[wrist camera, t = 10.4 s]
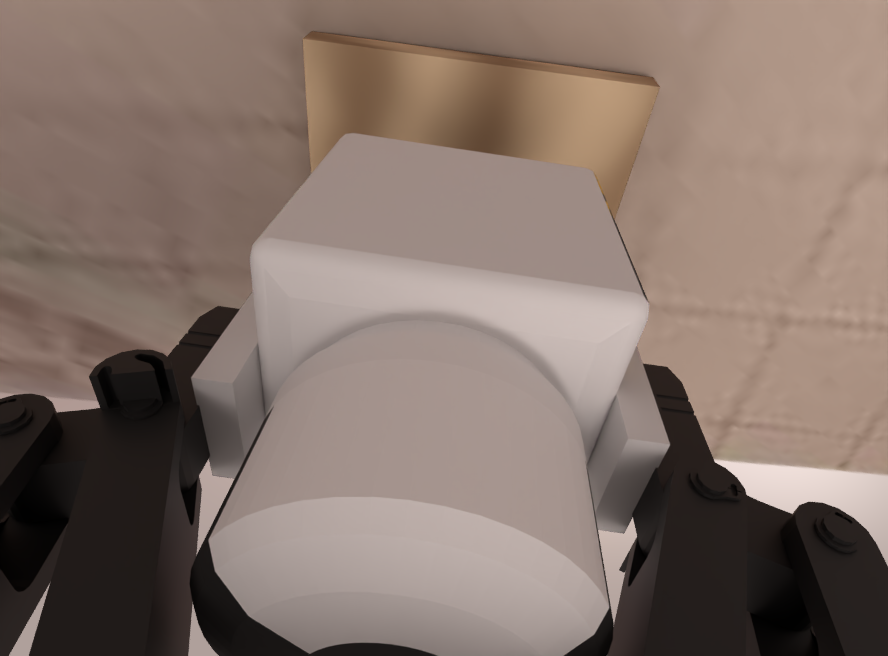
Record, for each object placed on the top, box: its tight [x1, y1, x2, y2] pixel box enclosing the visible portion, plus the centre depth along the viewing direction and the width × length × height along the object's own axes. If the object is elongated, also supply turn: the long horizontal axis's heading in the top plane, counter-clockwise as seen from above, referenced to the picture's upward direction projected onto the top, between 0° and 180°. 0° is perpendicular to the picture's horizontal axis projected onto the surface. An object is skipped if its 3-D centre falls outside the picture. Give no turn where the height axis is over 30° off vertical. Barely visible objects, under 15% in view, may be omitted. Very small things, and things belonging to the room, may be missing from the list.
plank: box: [303, 31, 660, 219], centre depth 27 cm, size 16×8×2 cm, turn 84°
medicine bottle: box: [189, 133, 649, 656], centre depth 12 cm, size 7×7×12 cm
